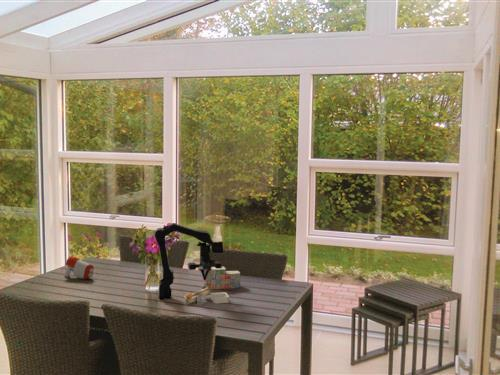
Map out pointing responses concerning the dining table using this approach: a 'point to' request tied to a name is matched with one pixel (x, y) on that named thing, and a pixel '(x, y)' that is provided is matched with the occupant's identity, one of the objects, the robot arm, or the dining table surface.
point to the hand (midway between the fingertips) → (204, 280)
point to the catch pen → (220, 297)
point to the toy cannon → (79, 268)
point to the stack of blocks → (222, 279)
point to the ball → (189, 296)
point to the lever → (198, 294)
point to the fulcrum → (199, 301)
